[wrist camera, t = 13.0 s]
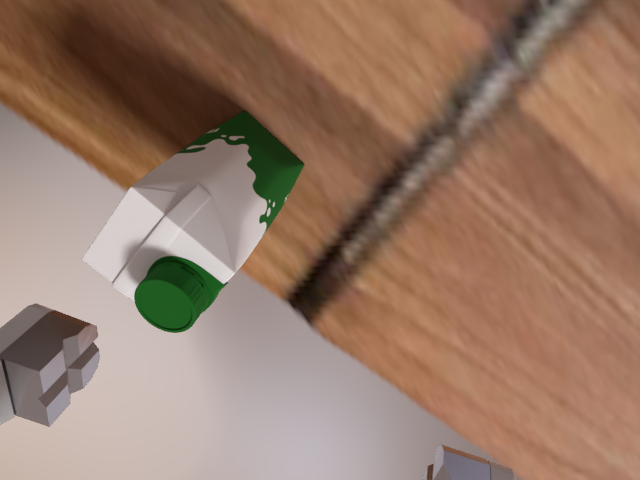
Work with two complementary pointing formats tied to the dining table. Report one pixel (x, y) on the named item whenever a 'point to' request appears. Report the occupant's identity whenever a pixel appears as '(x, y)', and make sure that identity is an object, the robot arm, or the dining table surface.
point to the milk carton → (195, 221)
